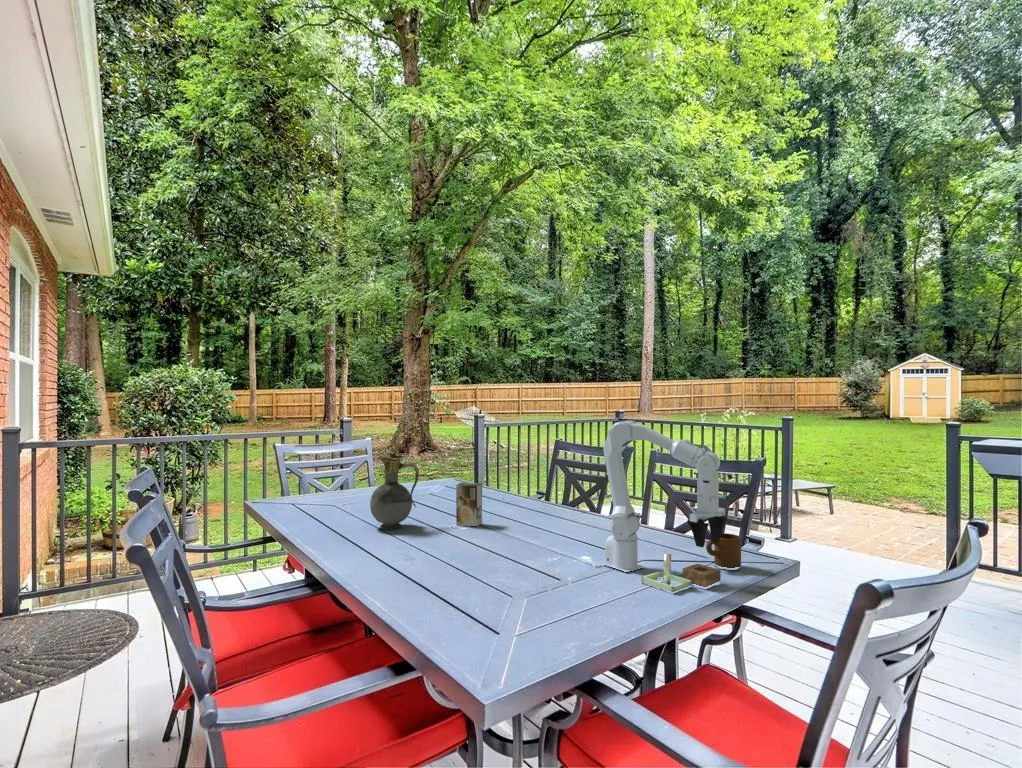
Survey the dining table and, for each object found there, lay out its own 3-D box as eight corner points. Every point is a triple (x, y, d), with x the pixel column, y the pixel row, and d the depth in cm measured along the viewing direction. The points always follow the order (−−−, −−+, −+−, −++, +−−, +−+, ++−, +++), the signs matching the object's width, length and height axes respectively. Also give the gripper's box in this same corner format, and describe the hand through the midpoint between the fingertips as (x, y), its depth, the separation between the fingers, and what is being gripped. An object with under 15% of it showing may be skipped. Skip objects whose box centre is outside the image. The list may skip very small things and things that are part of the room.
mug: (716, 574, 164) (716, 542, 164) (697, 567, 171) (697, 535, 171) (746, 569, 169) (746, 537, 169) (727, 562, 176) (727, 532, 176)
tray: (641, 583, 156) (641, 577, 156) (660, 577, 161) (660, 571, 161) (673, 594, 148) (673, 587, 148) (691, 587, 153) (691, 580, 153)
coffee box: (483, 523, 224) (483, 483, 225) (477, 527, 218) (477, 485, 218) (461, 521, 227) (461, 482, 227) (455, 525, 221) (455, 484, 221)
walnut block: (682, 582, 157) (682, 568, 157) (697, 577, 161) (697, 563, 161) (705, 590, 151) (705, 575, 151) (720, 584, 156) (720, 569, 156)
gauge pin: (661, 583, 155) (662, 553, 155) (665, 582, 156) (666, 552, 156) (668, 585, 153) (668, 555, 153) (672, 583, 155) (672, 554, 155)
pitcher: (366, 526, 218) (367, 449, 218) (413, 521, 228) (414, 446, 228) (375, 533, 209) (375, 452, 209) (423, 527, 218) (424, 449, 219)
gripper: (705, 500, 151) (705, 551, 151) (735, 494, 160) (734, 542, 160) (683, 496, 156) (682, 546, 156) (712, 491, 165) (712, 537, 165)
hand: (707, 544), depth 158 cm, fingers open, 7 cm apart
